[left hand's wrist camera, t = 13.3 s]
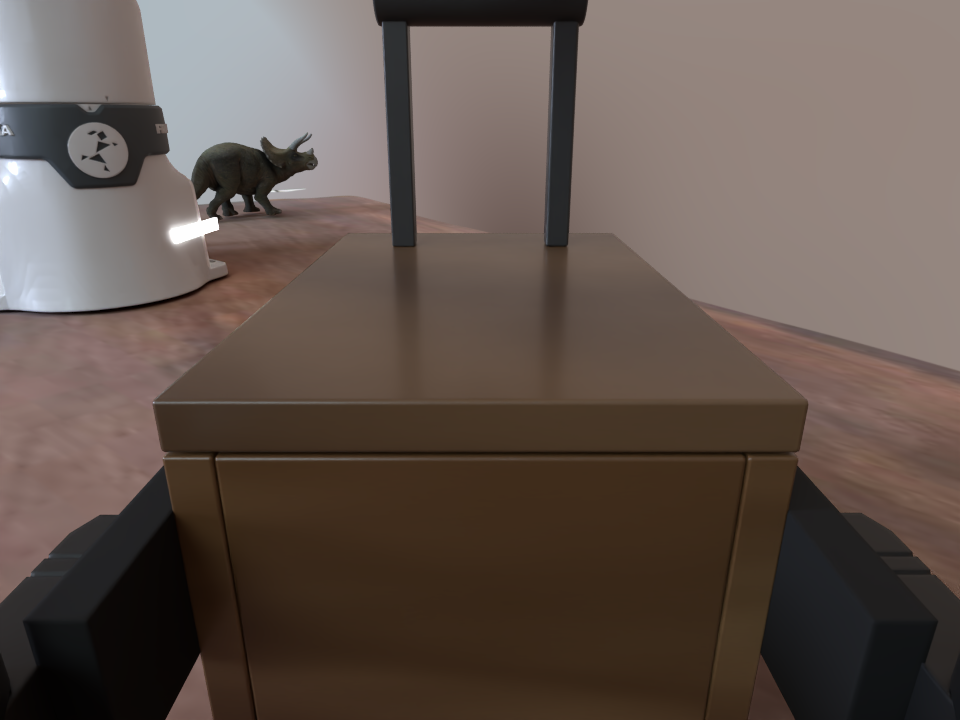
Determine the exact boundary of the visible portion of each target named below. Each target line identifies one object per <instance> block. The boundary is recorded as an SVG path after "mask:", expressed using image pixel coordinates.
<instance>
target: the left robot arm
mask: <svg viewBox="0 0 960 720" xmlns="http://www.w3.org/2000/svg"><path fill="white" fill-rule="evenodd" d="M912 553H913V552H912V551H911V550H910V549H909V548H908V547H907V546H906V545H905V544H904V543H903V542H902V541H901V540H900V539H899V538H898V537H897V536H896V535H895V534H894V533H893V532H892V531H890V530H889V529H887V528H885V527H884V526H882V525H880V524H879V523H877V522H875V521H874V520H872V519H870V518H869V517H867V516H865V515H864V514H862V513H840V512H839V511H838V510H837V509H836V508H835V507H834V505H833V504H832V503H831V502H830V501H829V500H828V499H827V498H826V497H825V496H824V494H823V493H822V492H821V491H820V490H819V489H818V488H817V487H816V486H815V485H814V483H813V482H812V481H811V480H810V479H809V478H808V477H807V476H806V475H805V474H804V473H803V471H802V470H801V469H800V468H799V467H798V466H797V469H796V474H795V479H794V484H793V489H792V494H791V499H790V504H789V510H788V513H787V518H786V523H785V528H784V533H783V538H782V543H781V548H780V554H779V559H778V564H777V569H776V574H775V579H774V584H773V590H772V595H771V600H770V605H769V610H768V615H767V620H766V625H765V631H764V636H763V641H762V646H761V651H760V653H761V655H762V657H763V659H764V661H765V662H766V664H767V666H768V668H769V670H770V672H771V674H772V676H773V678H774V680H775V682H776V683H777V685H778V687H779V689H780V691H781V693H782V695H783V697H784V699H785V701H786V703H787V705H788V706H789V708H790V710H791V712H792V714H793V716H794V718H795V720H960V600H959V599H958V598H957V597H956V596H955V595H954V594H953V593H952V592H951V591H950V590H949V589H948V588H947V587H946V586H945V585H944V584H943V583H942V582H941V581H940V580H939V579H938V578H937V576H936V575H931V573H930V569H929V568H928V567H927V566H926V565H925V564H924V563H923V562H922V561H921V560H920V559H919V558H918V557H913V554H912ZM199 654H200V647H199V642H198V637H197V632H196V626H195V621H194V616H193V611H192V606H191V601H190V596H189V590H188V585H187V580H186V575H185V570H184V565H183V559H182V554H181V549H180V544H179V539H178V534H177V529H176V523H175V518H174V513H173V510H172V505H171V499H170V494H169V489H168V484H167V479H166V474H165V469H164V466H163V467H162V468H161V469H160V470H159V471H158V472H157V473H156V474H155V476H154V477H153V478H152V479H151V480H150V481H149V482H148V483H147V484H146V485H145V487H144V488H143V489H142V490H141V491H140V492H139V493H138V494H137V495H136V496H135V498H134V499H133V500H132V501H131V502H130V503H129V504H128V505H127V506H126V507H125V509H124V510H123V511H122V512H121V513H120V514H119V515H99V516H97V517H96V518H94V519H93V520H91V521H89V522H88V523H86V524H84V525H83V526H81V527H79V528H78V529H76V530H74V531H73V532H71V533H70V534H69V535H68V536H67V537H66V538H65V539H64V540H63V541H62V542H61V543H60V544H59V545H58V546H57V547H56V548H55V549H54V550H53V551H52V552H51V553H50V554H49V558H48V559H44V560H43V561H42V562H41V563H40V564H39V565H38V566H37V567H36V568H35V569H34V570H33V571H32V572H31V577H26V578H25V579H24V580H23V581H22V582H21V583H20V584H19V585H18V586H17V587H16V588H15V589H14V590H13V591H12V592H11V593H10V594H9V595H8V596H7V597H6V599H5V600H4V601H3V602H2V603H1V604H0V720H165V719H166V717H167V715H168V714H169V712H170V710H171V708H172V706H173V704H174V702H175V700H176V698H177V696H178V694H179V692H180V691H181V689H182V687H183V685H184V683H185V681H186V679H187V677H188V675H189V673H190V671H191V669H192V668H193V666H194V664H195V662H196V660H197V658H198V656H199Z"/></svg>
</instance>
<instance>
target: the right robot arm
mask: <svg viewBox="0 0 960 720" xmlns="http://www.w3.org/2000/svg"><path fill="white" fill-rule="evenodd" d="M152 105H155V98H154V92H153V86H152V80H151V74H150V68H149V62H148V55H147V49H146V43H145V37H144V31H143V25H142V19H141V13H140V9H139V6H138V3H137V1H136V0H0V310H23V311H34V312H76V311H91V310H102V309H111V308H119V307H126V306H133V305H139V304H145V303H150V302H155V301H160V300H164V299H168V298H172V297H176V296H179V295H182V294H185V293H188V292H191V291H193V290H196V289H198V288H199V287H201V286H203V285H204V284H205V283H206V282H208V281H210V280H213V279H216V278H219V277H222V276H225V275H227V274H228V269H227V266H226V263H225V262H222V261H217V260H213V259H209V256H208V252H207V247H206V242H205V237H204V234H206V233H209V232H212V231H215V230H218V222H217V218H211V219H208V220H205V221H201V218H200V213H199V208H198V204H197V199H196V194H195V190H194V186H193V183H192V181H191V180H190V179H188V178H187V177H186V176H184V175H183V174H181V173H180V172H178V171H177V170H176V169H175V168H174V167H173V166H172V164H171V163H170V162H169V160H168V159H167V157H166V155H165V154H167V153H168V152H169V144H168V138H167V133H168V130H167V124H165V121H164V117H163V112H162V109H161V108H160V107H159V106H152Z"/></svg>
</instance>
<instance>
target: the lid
mask: <svg viewBox="0 0 960 720" xmlns="http://www.w3.org/2000/svg"><path fill="white" fill-rule="evenodd" d="M373 5H374V12H375V17H376V20H377V23H378V25H379V26H382V36H383V58H384V79H385V100H386V121H387V143H388V164H389V185H390V207H391V228H392V233H348V234H347V235H345V236H344V237H343V238H342V239H341V240H340V241H338V242H337V243H336V244H335V245H334V246H333V247H331V248H330V249H329V250H328V251H327V252H326V253H324V254H323V255H322V256H321V257H320V258H319V259H317V260H316V261H315V262H314V263H313V264H312V265H310V266H309V267H308V268H307V269H306V270H305V271H303V272H302V273H301V274H300V275H299V276H298V277H296V278H295V279H294V280H293V281H292V282H291V283H289V284H288V285H287V286H286V287H285V288H284V289H282V290H281V291H280V292H279V293H278V294H277V295H275V296H274V297H273V298H272V299H271V300H270V301H268V302H267V303H266V304H265V305H264V306H263V307H261V308H260V309H259V310H258V311H257V312H256V313H254V314H253V315H252V316H251V317H250V318H249V319H247V320H246V321H245V322H244V323H243V324H242V325H240V326H239V327H238V328H237V329H236V330H235V331H233V332H232V333H231V334H230V335H229V336H228V337H226V338H225V339H224V340H223V341H222V342H221V343H219V344H218V345H217V346H216V347H215V348H214V349H212V350H211V351H210V352H209V353H208V354H207V355H205V356H204V357H203V358H202V359H201V360H200V361H198V362H197V363H196V364H195V365H194V366H193V367H191V368H190V369H189V370H188V371H187V372H186V373H184V374H183V375H182V376H181V377H180V378H179V379H177V380H176V381H175V382H174V383H173V384H172V385H170V386H169V387H168V388H167V389H166V390H165V391H163V392H162V393H161V394H160V395H159V396H158V397H156V398H155V399H154V401H153V409H154V414H155V419H156V424H157V430H158V435H159V440H160V445H161V449H162V451H164V452H798V451H799V449H800V445H801V440H802V435H803V430H804V425H805V419H806V414H807V409H808V401H807V399H805V398H804V397H803V396H802V395H801V394H800V393H798V392H797V391H796V390H795V389H794V388H793V387H791V386H790V385H789V384H788V383H787V382H786V381H784V380H783V379H782V378H781V377H780V376H779V375H777V374H776V373H775V372H774V371H773V370H772V369H770V368H769V367H768V366H767V365H766V364H765V363H763V362H762V361H761V360H760V359H759V358H758V357H756V356H755V355H754V354H753V353H752V352H751V351H749V350H748V349H747V348H746V347H745V346H744V345H742V344H741V343H740V342H739V341H738V340H737V339H735V338H734V337H733V336H732V335H731V334H730V333H728V332H727V331H726V330H725V329H724V328H723V327H721V326H720V325H719V324H718V323H717V322H716V321H714V320H713V319H712V318H711V317H710V316H709V315H707V314H706V313H705V312H704V311H703V310H702V309H700V308H699V307H698V306H697V305H696V304H695V303H693V302H692V301H691V300H690V299H689V298H688V297H686V296H685V295H684V294H683V293H682V292H681V291H679V290H678V289H677V288H676V287H675V286H674V285H672V284H671V283H670V282H669V281H668V280H666V279H665V278H664V277H663V276H662V275H661V274H660V273H658V272H657V271H656V270H655V269H654V268H653V267H651V266H650V265H649V264H648V263H647V262H646V261H644V260H643V259H642V258H641V257H640V256H639V255H637V254H636V253H635V252H634V251H633V250H631V249H630V248H629V247H628V246H627V245H626V244H625V243H623V242H622V241H621V240H620V239H619V238H618V237H616V236H615V235H614V234H612V233H569V219H570V198H571V177H572V157H573V136H574V114H575V94H576V73H577V52H578V32H579V26H582V25H583V23H584V20H585V16H586V11H587V5H588V0H373ZM410 26H551V51H550V80H549V109H548V137H547V166H546V194H545V223H544V233H417V230H416V200H415V171H414V141H413V111H412V81H411V52H410Z"/></svg>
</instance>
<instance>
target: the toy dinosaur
mask: <svg viewBox="0 0 960 720" xmlns="http://www.w3.org/2000/svg"><path fill="white" fill-rule="evenodd" d="M307 135H308V133H306V134H305V135H304V136H302V137H300V138H298V139H296V140H295V141H294V142H293V143H292V144H291V145H290V146H289V147H288V148H287V149H279V148H276V147H274V146H273V145H272V144H271V143H270V142H269V141H268V140H267V138H266V137H263V138H261V141H260V142H261V146H262V149H263V152H262V151H260V150H258V149H254V148H250V147H247V146H244V145H240V144H237V143H222V144H217V145H214V146H213V147H211V148H209V149H207V150H206V151H205V152H203V153H202V155H201V156H200V157H199V158H198V160H197V162H196V165H195V167H194V170H193V173H192V178H191V181H192V183H193V186H194V190H195V194H196V199H199V198H200V196H201V195H202V194H203V193H204V192H205V191H206V190H207V188H208V187H209V188H210V189H211V190H213V191H216V195H215V198H214V199H213V200H212V201H211V202H210V204H209V207H208V208H207V210H206V212H207V214H208V216H209V217H210V218H217V221H219V220H221V219H223V218H222V217H221V216H220V215H217V214H216V212H217V210H218V207H219V206H220V205H222V210H223V215H224V216H233V215H238V212H236V211H235V210H234V208H233V205H232V204H231V202H230V199H231V198H233V197H234V196H235V194H240V195H242V197H243V199H244V202H245V209H244V210H243V212H258V211H260V209H259V208H257V207H255V205H254V202H253V196H252V195H255V196H254V199H255V200H256V201H258V203H259V204H261V205H262V206H263V208H264V209H265V211H266V214H268V215H275V214H279V213H282V210H280V209H277V208H275V207H273V206H272V205H271V204H270V202H269V200H268V198H267V195H268V194H269V193H270V191H271V190H272V188H273V187H274V186H275V185H276V184H278V183H281V182H283V181H286V180H287V179H288V178H290V177H291V176H293V175H294V174H295V173H298V172H302V171H305V170H313V169H314V168H315V167H316V166H317V164H318V161H317V158H316V157H315V156H314V154H313V152H314V151H313V148H311V149H310V150H309V151H308V152H304V153H299V152H297V148H298V147H299V146H300V145H301V144H302V143H304V142H305V141H307V140H309V139H310V138H311V136H312V134H310V135H309V136H308V137H306V136H307ZM313 164H314V165H313Z"/></svg>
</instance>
